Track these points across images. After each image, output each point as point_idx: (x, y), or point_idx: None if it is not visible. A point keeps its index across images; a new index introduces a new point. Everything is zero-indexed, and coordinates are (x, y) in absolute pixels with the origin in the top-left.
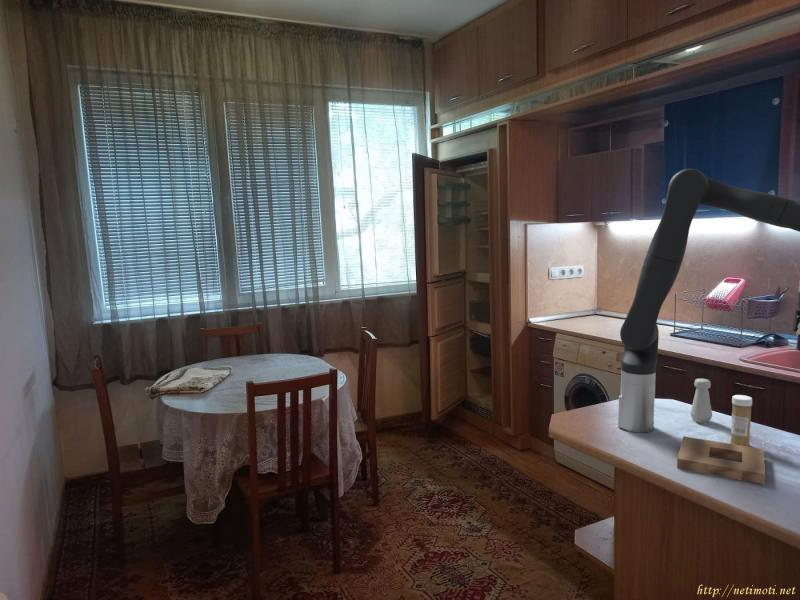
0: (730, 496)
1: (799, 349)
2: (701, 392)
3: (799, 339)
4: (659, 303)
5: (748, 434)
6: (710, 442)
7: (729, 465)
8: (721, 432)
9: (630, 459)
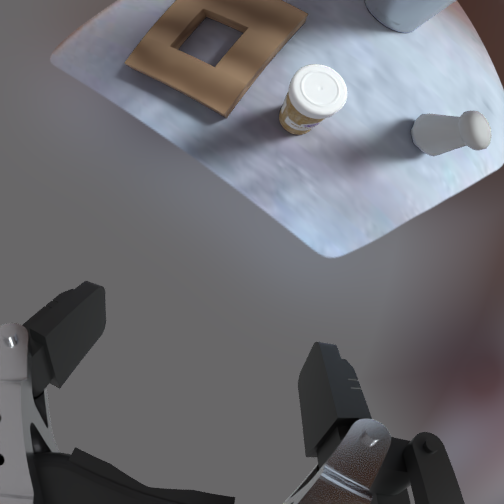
0: (114, 17)
1: (315, 352)
2: (455, 120)
3: (330, 402)
4: None
5: (284, 118)
6: (270, 38)
7: (163, 24)
8: (365, 129)
9: None
